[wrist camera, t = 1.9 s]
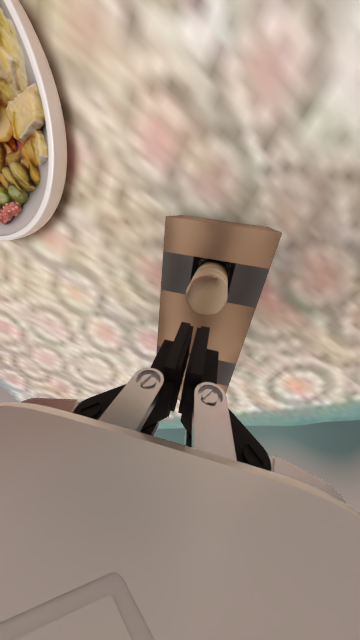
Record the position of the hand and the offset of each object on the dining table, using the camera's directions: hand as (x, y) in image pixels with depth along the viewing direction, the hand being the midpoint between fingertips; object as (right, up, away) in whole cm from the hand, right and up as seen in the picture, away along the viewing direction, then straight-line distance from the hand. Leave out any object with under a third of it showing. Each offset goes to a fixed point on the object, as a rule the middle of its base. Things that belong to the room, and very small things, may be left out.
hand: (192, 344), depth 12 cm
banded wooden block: (+4, +4, +21) cm, 22 cm away
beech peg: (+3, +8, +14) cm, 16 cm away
